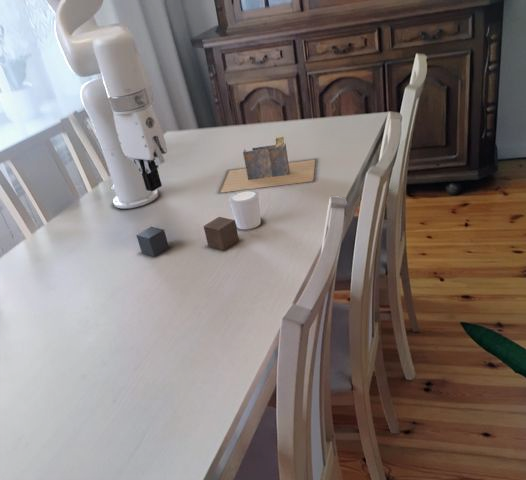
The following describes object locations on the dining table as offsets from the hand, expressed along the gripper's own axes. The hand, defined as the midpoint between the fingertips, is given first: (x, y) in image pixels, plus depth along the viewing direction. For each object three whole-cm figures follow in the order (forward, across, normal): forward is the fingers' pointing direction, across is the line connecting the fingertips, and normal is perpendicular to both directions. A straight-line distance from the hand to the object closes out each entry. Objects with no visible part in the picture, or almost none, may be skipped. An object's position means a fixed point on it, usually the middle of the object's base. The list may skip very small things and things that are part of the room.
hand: (154, 188), depth 126 cm
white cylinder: (+13, -13, -14) cm, 23 cm away
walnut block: (+13, -14, -4) cm, 19 cm away
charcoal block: (+13, -1, +5) cm, 14 cm away
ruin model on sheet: (+13, +2, -40) cm, 42 cm away
